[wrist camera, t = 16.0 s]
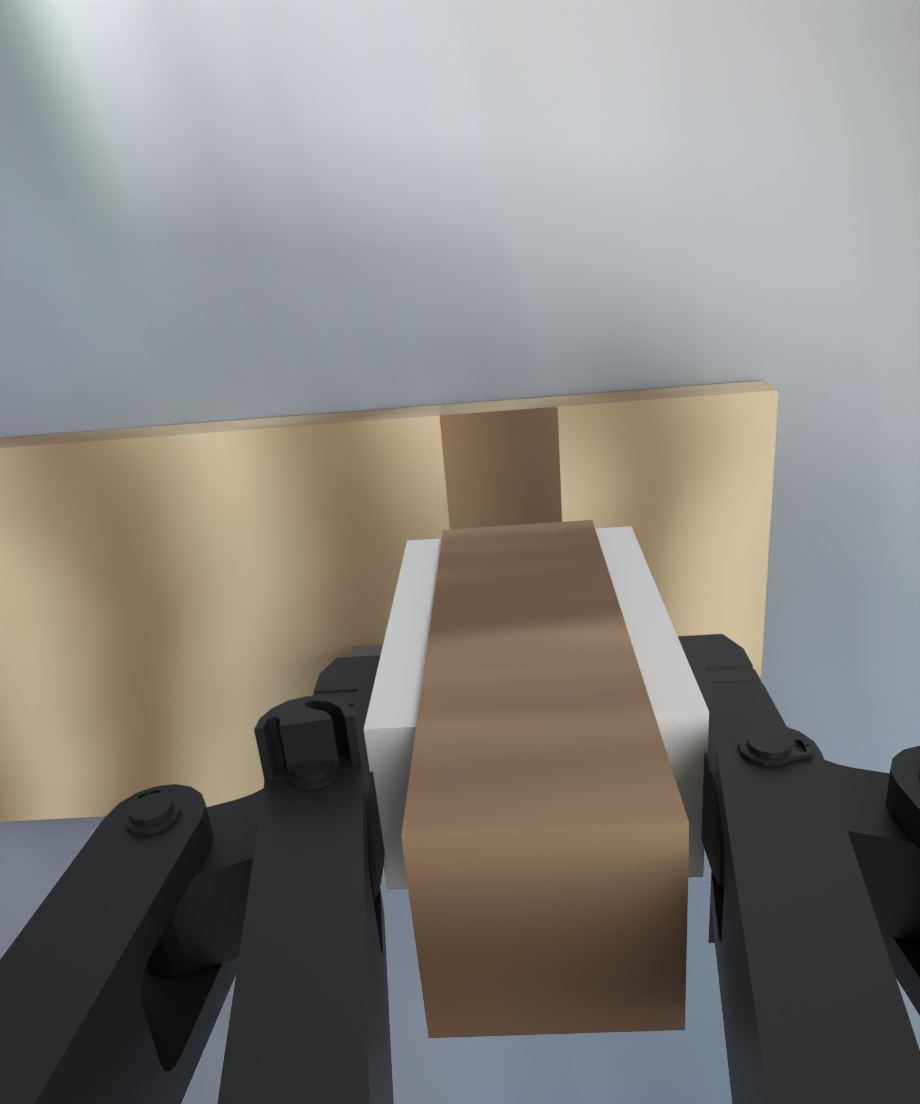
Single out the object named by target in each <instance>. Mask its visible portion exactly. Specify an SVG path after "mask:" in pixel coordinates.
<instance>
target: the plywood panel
mask: <svg viewBox="0 0 920 1104" xmlns="http://www.w3.org/2000/svg"><path fill="white" fill-rule="evenodd" d="M778 394H779V390H778V389H776V388H775V387H773V386H772V385H770V384H769V383H767V382H766V381H764V380H762V381H749V382H736V383H723V384H709V385H696V386H683V387H670V388H656V389H643V390H630V391H617V392H603V393H590V394H577V395H563V396H550V397H537V398H524V399H510V400H497V401H484V402H471V403H457V404H444V405H431V406H418V407H404V408H391V409H378V410H364V411H351V412H338V413H325V414H311V415H298V416H285V417H272V418H258V419H245V420H232V421H219V422H205V423H192V424H179V425H165V426H152V427H139V428H126V429H112V430H99V431H86V432H73V433H59V434H46V435H33V436H19V437H6V438H0V822H8V821H27V820H47V819H66V818H85V817H105V816H107V815H108V814H109V813H110V812H111V811H112V810H113V809H114V808H115V807H116V806H117V805H118V804H119V803H120V802H122V801H123V800H125V799H127V798H129V797H130V796H132V795H134V794H135V793H137V792H140V791H143V790H146V789H149V788H152V787H155V786H162V785H171V784H178V785H184V786H191V787H192V788H194V789H196V790H197V791H199V792H200V793H202V795H203V798H204V801H205V804H206V807H210V806H213V805H217V804H221V803H225V802H229V801H232V800H236V799H239V798H242V797H245V796H248V795H251V794H253V793H255V792H257V791H259V790H261V789H263V787H264V776H263V771H262V766H261V761H260V756H259V752H258V747H257V742H256V737H255V732H254V728H255V726H256V724H257V722H258V720H259V718H261V717H262V716H263V715H264V714H265V713H267V712H268V711H269V710H270V709H271V708H273V707H275V706H278V705H280V704H282V703H284V702H286V701H288V700H293V699H297V698H301V697H305V696H312V695H314V692H313V691H314V689H315V686H316V683H317V680H318V677H319V674H320V673H321V672H322V671H323V670H324V669H325V668H326V667H327V666H328V665H330V664H331V663H332V662H333V661H334V660H335V659H336V658H339V657H350V656H351V652H352V649H353V647H357V646H373V645H383V643H384V639H385V634H386V630H387V626H388V621H389V617H390V613H391V608H392V604H393V600H394V595H395V591H396V587H397V582H398V578H399V574H400V569H401V565H402V561H403V556H404V552H405V548H406V543H407V541H409V540H425V539H441V538H442V533H443V530H449V529H463V528H478V527H493V526H508V525H523V524H538V523H553V522H567V521H582V520H593V524H594V527H595V529H596V528H612V527H628V526H631V527H632V529H633V531H634V534H635V536H636V538H637V541H638V543H639V546H640V548H641V550H642V553H643V555H644V558H645V560H646V562H647V565H648V567H649V569H650V572H651V574H652V577H653V579H654V581H655V584H656V586H657V589H658V591H659V593H660V596H661V598H662V600H663V603H664V605H665V608H666V610H667V612H668V615H669V617H670V620H671V622H672V624H673V627H674V629H675V632H676V634H677V636H692V635H710V634H724V635H725V636H726V637H728V638H729V639H731V640H732V641H734V642H735V643H737V644H738V645H739V646H741V647H742V648H744V650H745V652H746V654H747V656H748V658H749V659H750V661H751V663H752V665H753V669H755V670H756V672H757V674H758V676H759V677H760V679H761V669H762V653H763V637H764V621H765V604H766V588H767V572H768V556H769V540H770V523H771V507H772V491H773V475H774V459H775V442H776V426H777V410H778Z"/></svg>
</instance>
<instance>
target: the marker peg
mask: <svg viewBox="0 0 920 1104" xmlns="http://www.w3.org/2000/svg"><path fill="white" fill-rule="evenodd" d="M401 839H402V846H403V853H404V860H405V868H406V875H407V882H408V890H409V897H410V904H411V911H412V919H413V926H414V933H415V941H416V948H417V955H418V962H419V970H420V977H421V984H422V992H423V999H424V1006H425V1013H426V1021H427V1028H428V1035H429V1038H443V1037H475V1036H506V1035H538V1034H569V1033H601V1032H632V1031H664V1030H685V994H686V948H687V903H688V857H689V821H688V818H687V815H686V812H685V809H684V805H683V802H682V799H681V796H680V793H679V790H678V787H677V783H676V780H675V777H674V774H673V771H672V768H671V765H670V762H669V758H668V755H667V752H666V749H665V746H664V743H663V740H662V737H661V733H660V730H659V727H658V724H657V721H656V718H655V715H654V711H653V708H652V705H651V702H650V699H649V696H648V693H647V690H646V686H645V683H644V680H643V677H642V674H641V671H640V668H639V664H638V661H637V658H636V655H635V652H634V649H633V646H632V643H631V639H630V636H629V633H628V630H627V627H626V624H625V621H624V618H623V614H622V611H621V608H620V605H619V602H618V599H617V596H616V592H615V589H614V586H613V583H612V580H611V577H610V574H609V571H608V567H607V564H606V561H605V558H604V555H603V552H602V549H601V546H600V542H599V539H598V536H597V533H596V530H595V527H594V524H593V520H582V521H567V522H553V523H538V524H523V525H508V526H493V527H478V528H463V529H449V530H443V533H442V540H441V548H440V555H439V562H438V570H437V577H436V584H435V592H434V599H433V606H432V614H431V621H430V629H429V636H428V643H427V651H426V658H425V665H424V673H423V680H422V687H421V695H420V702H419V709H418V717H417V724H416V732H415V739H414V746H413V754H412V761H411V768H410V776H409V783H408V790H407V798H406V805H405V813H404V820H403V827H402V835H401Z"/></svg>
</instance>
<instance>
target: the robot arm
mask: <svg viewBox="0 0 920 1104" xmlns="http://www.w3.org/2000/svg"><path fill="white" fill-rule="evenodd" d="M595 530H596V533H597V536H598V539H599V542H600V546H601V549H602V552H603V555H604V558H605V561H606V564H607V567H608V571H609V574H610V577H611V580H612V583H613V586H614V589H615V592H616V596H617V599H618V602H619V605H620V608H621V611H622V614H623V618H624V621H625V624H626V627H627V630H628V633H629V636H630V639H631V643H632V646H633V649H634V652H635V655H636V658H637V661H638V664H639V668H640V671H641V674H642V677H643V680H644V683H645V686H646V690H647V693H648V696H649V699H650V702H651V705H652V708H653V711H654V715H655V718H656V721H657V724H658V727H659V730H660V733H661V737H662V740H663V743H664V746H665V749H666V752H667V755H668V758H669V762H670V765H671V768H672V771H673V774H674V777H675V780H676V783H677V787H678V790H679V793H680V796H681V799H682V802H683V805H684V809H685V812H686V815H687V818H688V821H689V857H688V877H703V868H704V848H705V851H706V854H707V857H708V860H709V863H710V867H711V870H712V873H711V898H710V922H709V943H715V947H716V956H717V966H718V975H719V984H720V993H721V1002H722V1012H723V1021H724V1030H725V1039H726V1048H727V1058H728V1067H729V1076H730V1085H731V1094H732V1103H733V1104H920V1050H919V1047H918V1044H917V1041H916V1038H915V1035H914V1032H913V1029H912V1026H911V1023H910V1020H909V1017H908V1014H907V1011H906V1008H905V1005H904V1001H903V998H902V995H901V992H900V989H899V986H898V983H897V980H898V981H899V983H900V985H901V986H902V988H903V989H904V991H905V993H906V994H907V996H908V997H909V999H910V1001H911V1002H912V1004H913V1005H914V1007H915V1009H916V1010H917V1012H918V1013H919V1015H920V746H917V747H913V748H909V749H905V750H903V751H901V752H900V753H899V754H898V755H896V756H895V757H894V758H893V759H892V764H891V769H890V774H889V773H883V772H876V771H870V770H863V769H857V768H851V767H847V766H842V765H838V764H835V763H832V762H829V761H826V760H824V758H823V755H822V753H821V751H820V750H819V748H818V747H817V745H816V744H815V742H814V741H812V740H811V739H809V738H808V737H807V736H805V735H804V734H802V733H801V732H799V731H796V730H793V729H791V728H788V727H787V726H786V725H785V723H784V721H783V719H782V717H781V716H780V714H779V712H778V710H777V708H776V707H775V705H774V703H773V701H772V699H771V697H770V696H769V694H768V692H767V690H766V688H765V687H764V685H763V683H761V679H760V677H759V676H758V674H757V672H756V670H755V669H753V665H752V663H751V661H750V659H749V658H748V656H747V654H746V652H745V650H744V648H742V647H741V646H739V645H738V644H737V643H735V642H734V641H732V640H731V639H729V638H728V637H726V636H725V635H724V634H710V635H692V636H677V634H676V632H675V629H674V627H673V624H672V622H671V620H670V617H669V615H668V612H667V610H666V608H665V605H664V603H663V600H662V598H661V596H660V593H659V591H658V589H657V586H656V584H655V581H654V579H653V577H652V574H651V572H650V569H649V567H648V565H647V562H646V560H645V558H644V555H643V553H642V550H641V548H640V546H639V543H638V541H637V538H636V536H635V534H634V531H633V529H632V527H631V526H628V527H612V528H596V529H595ZM441 540H442V538H441V539H425V540H409V541H407V543H406V548H405V552H404V556H403V561H402V565H401V569H400V574H399V578H398V582H397V587H396V591H395V595H394V600H393V604H392V608H391V613H390V617H389V621H388V626H387V630H386V634H385V639H384V643H383V647H382V652H381V655H374V656H356V657H339V658H336V659H335V660H334V661H333V662H332V663H331V664H330V665H328V666H327V667H326V668H325V669H324V670H323V671H322V672H321V673H320V674H319V677H318V680H317V683H316V686H315V689H314V691H313V692H314V695H312V696H305V697H301V698H297V699H293V700H288V701H286V702H284V703H282V704H280V705H278V706H275V707H273V708H271V709H270V710H269V711H268V712H267V713H265V714H264V715H263V716H262V717H261V718H259V720H258V722H257V724H256V726H255V728H254V732H255V737H256V742H257V747H258V752H259V756H260V761H261V766H262V771H263V776H264V787H263V789H261V790H259V791H257V792H255V793H253V794H251V795H248V796H245V797H242V798H239V799H236V800H232V801H229V802H225V803H221V804H217V805H213V806H210V807H206V804H205V801H204V798H203V795H202V793H200V792H199V791H197V790H196V789H194V788H192V787H191V786H184V785H178V784H171V785H162V786H155V787H152V788H149V789H146V790H143V791H140V792H137V793H135V794H134V795H132V796H130V797H129V798H127V799H125V800H123V801H122V802H120V803H119V804H118V805H117V806H116V807H115V808H114V809H113V810H112V811H111V812H110V813H109V814H108V815H107V816H106V817H105V818H104V820H103V821H102V822H101V824H100V825H99V826H98V828H97V829H96V830H95V832H94V833H93V835H92V836H91V837H90V839H89V840H88V841H87V843H86V844H85V845H84V847H83V848H82V849H81V851H80V852H79V854H78V855H77V856H76V858H75V859H74V860H73V862H72V863H71V864H70V866H69V867H68V869H67V870H66V871H65V873H64V874H63V875H62V877H61V878H60V879H59V881H58V882H57V883H56V885H55V886H54V888H53V889H52V890H51V892H50V893H49V894H48V896H47V897H46V898H45V900H44V901H43V903H42V904H41V905H40V907H39V908H38V909H37V911H36V912H35V913H34V915H33V916H32V918H31V919H30V920H29V922H28V923H27V924H26V926H25V927H24V928H23V930H22V931H21V932H20V934H19V935H18V937H17V938H16V939H15V941H14V942H13V943H12V945H11V946H10V947H9V949H8V950H7V952H6V953H5V954H4V956H3V957H2V958H1V960H0V1104H181V1102H182V1100H183V1097H184V1095H185V1093H186V1090H187V1088H188V1086H189V1083H190V1081H191V1079H192V1076H193V1074H194V1072H195V1069H196V1067H197V1065H198V1062H199V1060H200V1057H201V1055H202V1053H203V1050H204V1048H205V1046H206V1043H207V1041H208V1039H209V1036H210V1034H211V1032H212V1029H213V1027H214V1025H215V1022H216V1020H217V1017H218V1015H219V1013H220V1010H221V1008H222V1006H223V1003H224V1001H225V999H226V996H227V994H228V992H229V989H230V987H231V985H232V982H233V980H234V977H235V975H236V980H235V987H234V994H233V1001H232V1008H231V1015H230V1022H229V1028H228V1035H227V1042H226V1049H225V1056H224V1063H223V1070H222V1077H221V1084H220V1090H219V1097H218V1104H393V1085H392V1065H391V1045H390V1024H389V1004H388V984H387V964H386V944H385V923H384V910H383V903H382V897H381V890H380V884H381V878H382V871H383V865H384V871H385V877H386V884H387V889H402V888H408V882H407V875H406V868H405V860H404V853H403V846H402V839H401V835H402V827H403V820H404V813H405V805H406V798H407V790H408V783H409V776H410V768H411V761H412V754H413V746H414V739H415V732H416V724H417V717H418V709H419V702H420V695H421V687H422V680H423V673H424V665H425V658H426V651H427V643H428V636H429V629H430V621H431V614H432V606H433V599H434V592H435V584H436V577H437V570H438V562H439V555H440V548H441ZM896 978H897V980H896Z"/></svg>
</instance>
